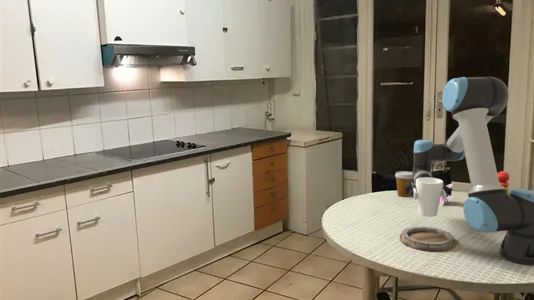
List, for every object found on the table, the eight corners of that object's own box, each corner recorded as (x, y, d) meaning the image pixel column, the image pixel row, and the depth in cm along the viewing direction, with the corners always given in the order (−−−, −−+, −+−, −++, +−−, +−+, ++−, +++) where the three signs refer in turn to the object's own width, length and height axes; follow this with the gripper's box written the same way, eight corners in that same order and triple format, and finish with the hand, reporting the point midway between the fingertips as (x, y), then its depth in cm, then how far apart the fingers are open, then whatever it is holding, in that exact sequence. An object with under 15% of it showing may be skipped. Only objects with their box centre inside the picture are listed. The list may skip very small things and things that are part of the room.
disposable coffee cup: (416, 194, 228) (417, 172, 226) (408, 199, 221) (409, 176, 219) (399, 192, 234) (400, 170, 232) (391, 195, 227) (391, 173, 225)
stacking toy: (512, 215, 192) (515, 173, 189) (493, 214, 194) (496, 173, 191) (506, 209, 200) (509, 169, 197) (488, 209, 202) (490, 169, 198)
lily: (429, 200, 221) (424, 186, 216) (451, 191, 219) (447, 177, 215) (438, 214, 210) (434, 199, 206) (462, 205, 208) (458, 190, 204)
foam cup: (438, 219, 157) (440, 184, 155) (412, 215, 162) (413, 181, 160) (443, 212, 165) (445, 179, 163) (418, 208, 170) (419, 176, 168)
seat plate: (467, 244, 161) (468, 238, 160) (429, 255, 152) (429, 249, 151) (425, 228, 178) (425, 222, 178) (388, 237, 169) (388, 231, 169)
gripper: (452, 191, 177) (462, 208, 156) (395, 189, 183) (398, 205, 161) (453, 173, 176) (463, 188, 154) (396, 171, 181) (398, 185, 160)
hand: (430, 196), depth 158 cm, fingers closed on foam cup, 9 cm apart
